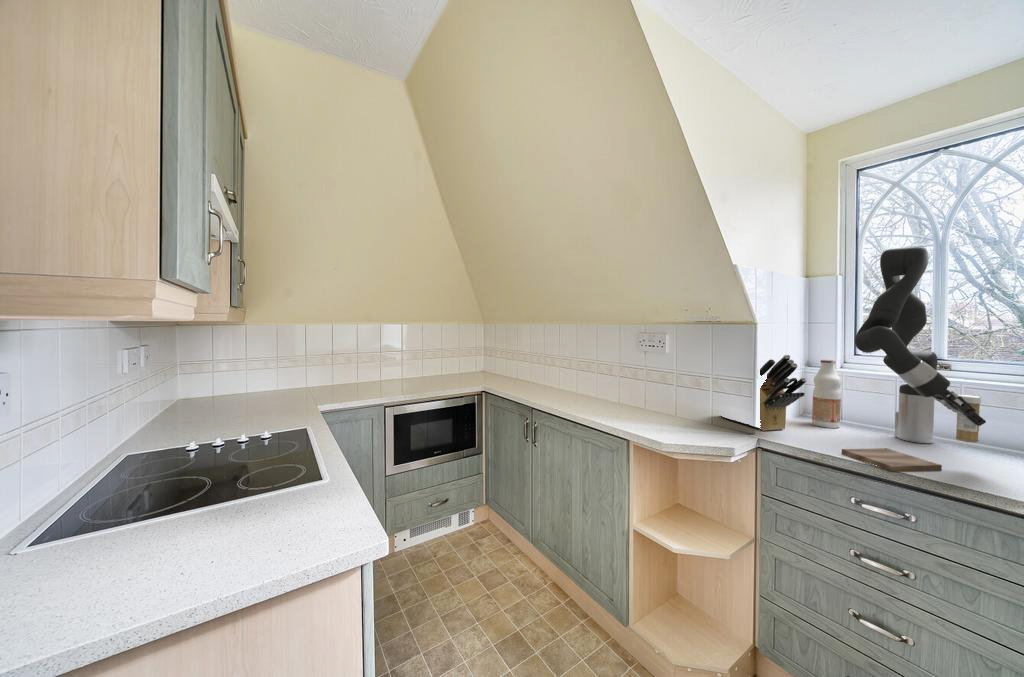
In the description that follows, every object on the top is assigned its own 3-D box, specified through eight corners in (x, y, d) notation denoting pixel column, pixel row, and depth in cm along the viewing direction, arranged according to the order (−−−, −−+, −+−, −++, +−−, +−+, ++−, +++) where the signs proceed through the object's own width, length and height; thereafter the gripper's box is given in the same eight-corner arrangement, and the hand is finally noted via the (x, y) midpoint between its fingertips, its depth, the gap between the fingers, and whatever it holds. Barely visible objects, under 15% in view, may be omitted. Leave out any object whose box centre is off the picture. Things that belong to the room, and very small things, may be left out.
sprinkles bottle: (979, 441, 116) (982, 396, 116) (976, 444, 114) (979, 397, 113) (956, 437, 120) (959, 393, 120) (953, 440, 118) (955, 395, 117)
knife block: (783, 438, 148) (785, 356, 147) (715, 416, 183) (717, 350, 182) (807, 436, 151) (810, 356, 150) (736, 415, 185) (738, 350, 184)
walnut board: (841, 453, 131) (841, 449, 131) (886, 452, 132) (886, 448, 132) (891, 471, 115) (891, 466, 115) (941, 470, 116) (941, 465, 116)
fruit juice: (817, 427, 165) (820, 360, 164) (807, 422, 174) (809, 358, 173) (844, 429, 162) (847, 361, 161) (833, 423, 171) (835, 359, 170)
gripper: (947, 372, 113) (1006, 419, 108) (924, 367, 126) (976, 409, 121) (921, 389, 116) (977, 436, 111) (901, 382, 129) (951, 424, 124)
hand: (976, 421), depth 116 cm, fingers closed on sprinkles bottle, 4 cm apart
